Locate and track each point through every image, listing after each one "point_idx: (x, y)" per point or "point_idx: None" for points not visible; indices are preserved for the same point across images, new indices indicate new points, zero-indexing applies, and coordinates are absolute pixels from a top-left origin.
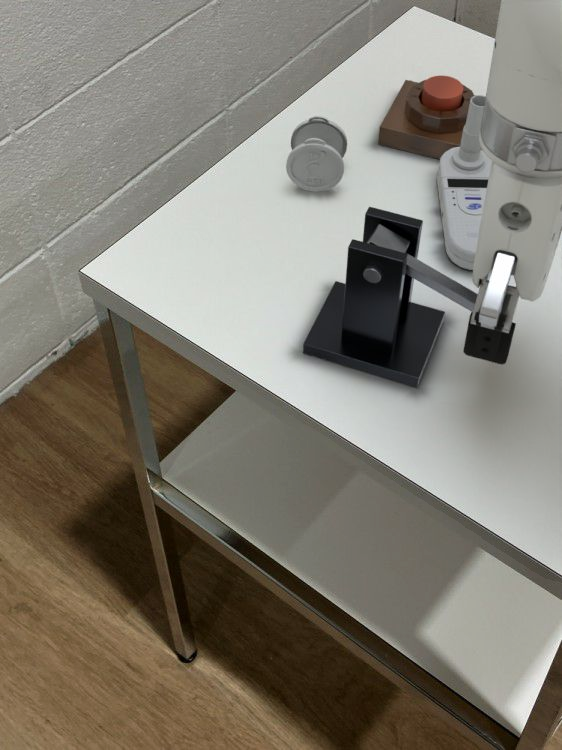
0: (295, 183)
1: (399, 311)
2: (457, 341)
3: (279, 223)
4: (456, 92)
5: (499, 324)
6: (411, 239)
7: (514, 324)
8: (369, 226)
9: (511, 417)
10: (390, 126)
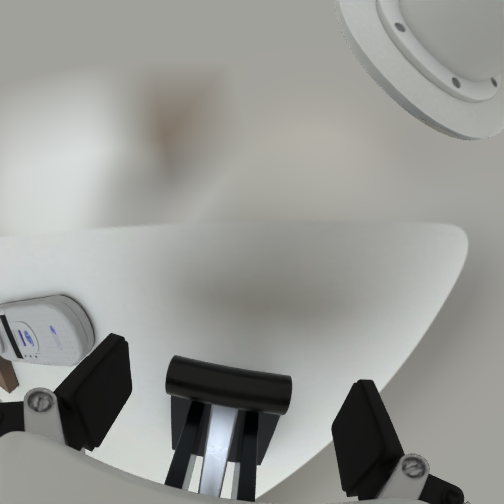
0: (84, 448)
1: (243, 462)
2: (202, 347)
3: (123, 458)
4: None
5: (462, 500)
6: None
7: (393, 453)
8: None
9: (317, 278)
10: (5, 386)
